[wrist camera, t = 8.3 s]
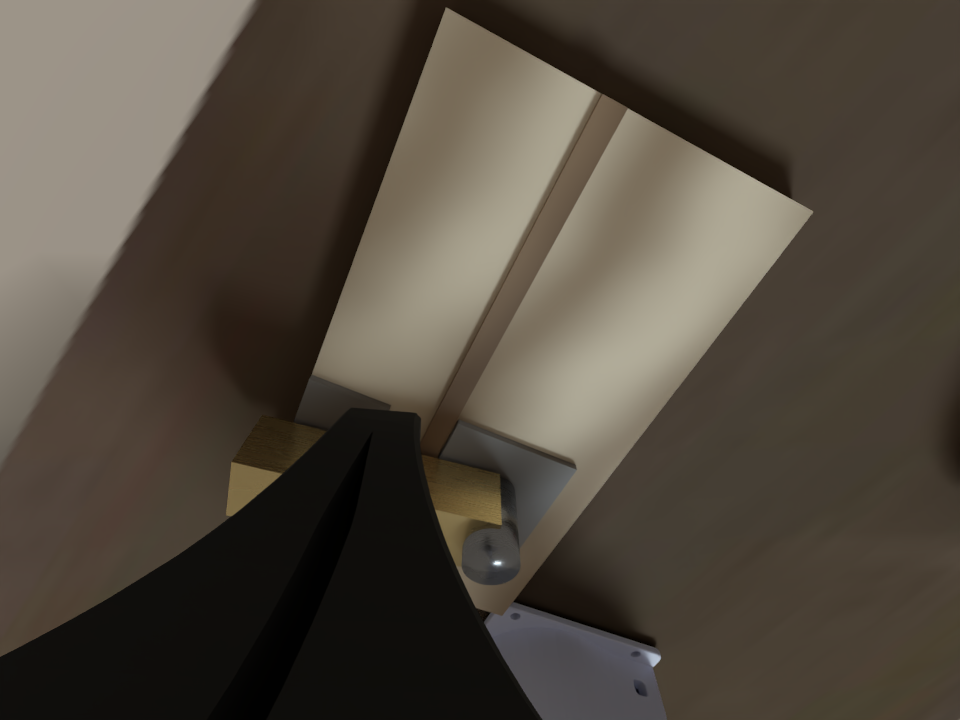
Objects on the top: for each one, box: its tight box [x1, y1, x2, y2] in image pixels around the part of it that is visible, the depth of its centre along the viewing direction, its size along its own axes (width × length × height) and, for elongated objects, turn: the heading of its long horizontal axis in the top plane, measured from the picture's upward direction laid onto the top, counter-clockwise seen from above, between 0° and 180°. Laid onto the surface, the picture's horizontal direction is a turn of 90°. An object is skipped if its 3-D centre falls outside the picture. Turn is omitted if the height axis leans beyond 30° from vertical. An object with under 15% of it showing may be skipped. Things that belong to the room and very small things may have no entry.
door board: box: [293, 8, 813, 616], centre depth 20 cm, size 12×21×2 cm, turn 155°
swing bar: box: [226, 415, 521, 585], centre depth 19 cm, size 10×2×3 cm, turn 73°
